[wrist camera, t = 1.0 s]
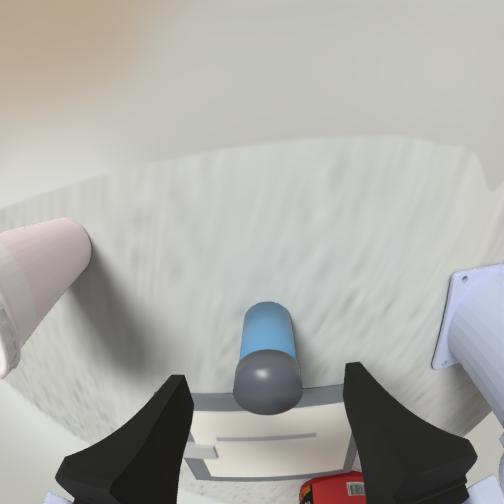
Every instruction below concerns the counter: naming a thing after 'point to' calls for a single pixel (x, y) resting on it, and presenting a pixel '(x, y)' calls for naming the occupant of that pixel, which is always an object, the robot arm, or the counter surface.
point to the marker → (267, 362)
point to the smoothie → (35, 278)
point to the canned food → (334, 489)
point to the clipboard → (270, 439)
